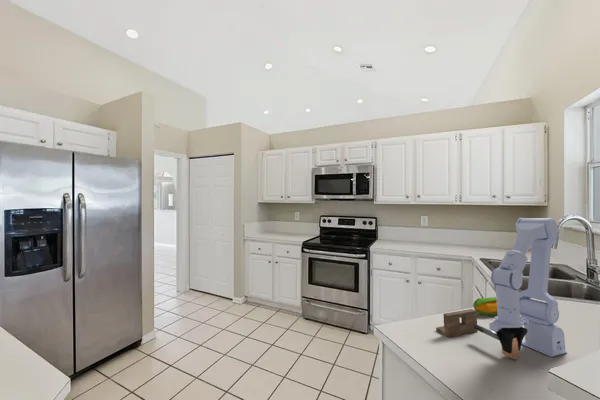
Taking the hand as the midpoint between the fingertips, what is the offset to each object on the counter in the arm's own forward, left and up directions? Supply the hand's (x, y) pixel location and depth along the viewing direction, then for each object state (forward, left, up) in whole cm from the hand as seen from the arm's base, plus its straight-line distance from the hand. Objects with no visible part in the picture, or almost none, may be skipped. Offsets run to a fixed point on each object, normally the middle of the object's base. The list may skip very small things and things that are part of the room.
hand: (511, 350), depth 80 cm
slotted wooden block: (+20, 0, -2) cm, 20 cm away
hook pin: (+5, 0, -2) cm, 6 cm away
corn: (+28, -31, -3) cm, 41 cm away
